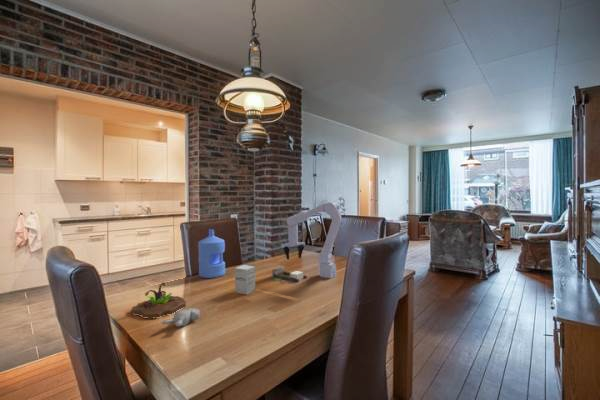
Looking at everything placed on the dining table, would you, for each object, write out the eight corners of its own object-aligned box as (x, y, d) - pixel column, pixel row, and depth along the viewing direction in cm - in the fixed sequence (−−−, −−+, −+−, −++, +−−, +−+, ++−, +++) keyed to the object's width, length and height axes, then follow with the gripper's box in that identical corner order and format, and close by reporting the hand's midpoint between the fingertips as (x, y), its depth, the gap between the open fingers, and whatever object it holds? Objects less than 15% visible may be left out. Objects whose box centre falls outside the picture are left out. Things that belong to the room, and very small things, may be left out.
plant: (194, 305, 128) (193, 280, 128) (153, 322, 112) (152, 294, 111) (167, 297, 139) (166, 275, 138) (125, 312, 122) (124, 286, 122)
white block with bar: (303, 278, 160) (303, 272, 160) (292, 283, 152) (292, 276, 152) (296, 276, 163) (296, 270, 163) (285, 281, 155) (284, 275, 155)
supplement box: (235, 292, 143) (234, 267, 142) (244, 288, 149) (243, 264, 149) (246, 295, 139) (246, 269, 139) (255, 290, 146) (255, 265, 146)
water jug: (193, 277, 170) (192, 230, 169) (209, 270, 185) (208, 227, 184) (216, 279, 166) (214, 231, 165) (230, 272, 181) (229, 228, 180)
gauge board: (310, 280, 160) (310, 271, 160) (296, 287, 150) (296, 277, 149) (280, 274, 173) (280, 266, 173) (266, 280, 162) (265, 271, 162)
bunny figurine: (205, 306, 116) (181, 318, 102) (205, 319, 116) (180, 333, 101) (185, 304, 118) (159, 315, 104) (185, 317, 118) (158, 330, 104)
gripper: (301, 234, 178) (302, 255, 178) (279, 236, 173) (280, 258, 173) (306, 235, 172) (306, 258, 172) (283, 237, 166) (284, 260, 166)
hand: (293, 258), depth 172 cm, fingers open, 7 cm apart
